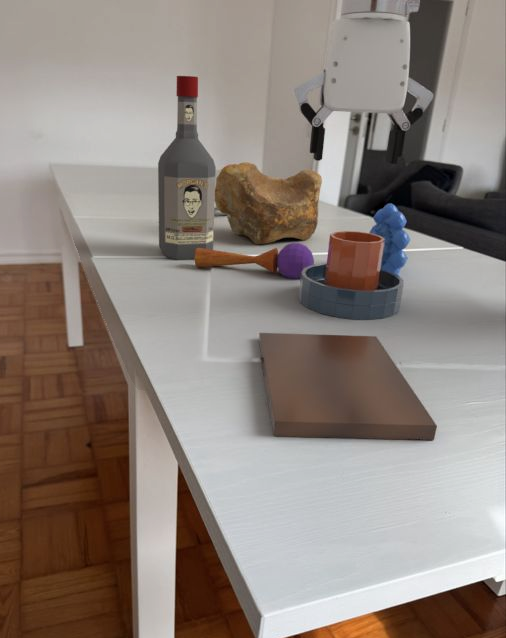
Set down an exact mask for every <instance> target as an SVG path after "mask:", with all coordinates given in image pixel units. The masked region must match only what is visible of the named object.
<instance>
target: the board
mask: <svg viewBox="0 0 506 638" xmlns="http://www.w3.org/2000/svg"><path fill="white" fill-rule="evenodd" d="M258 344H259V349H260V355H261V357H260V361H261V367H262V374H263V379H264V385H265V386H264V387H265V392H266V396H267V403H268V409H269V410H268V411H269V416H270V422H271V428H272V434H273V437H294V438H295V437H296V438H332V439H333V438H335V439H369V440H371V439H373V440H375V439H376V440H408V439H417V440H416V441H434V440H435V436H436V432H437V429H438V425H437V423H436V422H435V421H434V419H433V417H432V416H431V415H430V413H429V412H428V410H427V408H426V407H425V406H424V404H423V403H422V401H421V400H420V399H419V397H418V396H417V394H416V392H415V391H414V390H413V389H412V387H411V385H410V384H409V382H408V381H407V380H406V377H404V375H403V373H402V372H401V371H400V369H399V368H398V366H397V364H396V363H395V362H394V360H393V359H392V357H391V356H390V354H389V353H388V351H387V350H386V349H385V347H384V345H383V343H382V342H381V341H380V340H379V338H378V337H377V336H375V335H374V336H373V335H341V334H317V333H315V334H313V333H312V334H311V333H283V332H280V333H279V332H259V333H258ZM418 439H420V440H418ZM421 439H423V440H421ZM428 439H429V440H428ZM431 439H432V440H431Z"/></svg>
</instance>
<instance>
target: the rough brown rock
mask: <svg viewBox="0 0 506 638" xmlns="http://www.w3.org/2000/svg"><path fill="white" fill-rule="evenodd" d="M322 178H323V177H322V175H320V174H319V172H317V171H314V170H309V169H306V170H305V169H304V170H303V169H302V170H300V171H299V172H298V173H296V174H294V175H291V176H289V177H287V178H285V179H283V178H281V177H272V176H268V175H266V174H264V173H263V172H261V170H259V168H258V166H257V165H255V164H254V163H251V162H240V163H238V164H236V163H233V164H227V165H224V167H222V168H221V170H220V172H219V174H218V175H217V176H216V178H215V203H216V207H217V209H218V210H219V211H220V212H222V213H224V214H226V215H225V216H226V218H227V221H228V224H229V227H230V230H231V232H232V233H234V234H235V235H237V236H245V237H247V238H249V239H250V240H251V241H252V242H253V243H254V244H255V245H263V244H269V243H273V242H276V241H279V240H281V239H286V238H294V239H299V240H301V241H306V240H309V239H310V238H311V237H312V236H313V235H314V234H315V232H316V229H317V227H318V220H319V219H318V218H319V201H320V194H321V188H322V183H323V179H322Z"/></svg>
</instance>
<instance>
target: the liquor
mask: <svg viewBox="0 0 506 638" xmlns="http://www.w3.org/2000/svg"><path fill="white" fill-rule="evenodd" d="M176 97H177V112H176V113H177V114H176V115H177V117H176V118H177V119H176V120H177V123H176V124H177V125H176V132H175V138H174V139H173V140H172V141H171V143H170V144H169V145H168V146H167V148H166V149H165V150H164V151H163V152H162V154H161V155H160V157H159V159H158V162H157V176H158V177H157V178H158V179H157V181H158V182H157V183H158V184H157V185H158V192H157V193H158V194H157V195H158V246H159V250H160V251H161V253H162V255H164V256H165V258H166V259H172V260H177V261H184V260H185V261H187V260H195V251H196V249H197V248H203V249H209V250H214V239H215V238H214V234H215V233H214V232H215V216H214V204H215V187H216V168H217V167H216V164H215V161H214V159H213V157H212V155H211V154H210V153H209V152H208V150H207V149H206V148H205V146H204V145H203V143H202V142H201V141H200V140H199V133H198V97H199V77H198V76H191V75H176Z"/></svg>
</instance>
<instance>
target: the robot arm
mask: <svg viewBox="0 0 506 638" xmlns="http://www.w3.org/2000/svg"><path fill="white" fill-rule="evenodd" d="M420 4H421V0H341V6H340V18H339V19H336V20H334V21H333V22H332V24H331V28H330V31H329V35H328V41H327V45H326V50H325V55H324V63H323V68H322V73H321V74H318V75H316V76H314V77H312V78H311V79H308V80H307V81H305V82H303V83H301V84H299V85H297V86H295V87H294V88H293V90H292V93H293V96H294V98H295V101H296V104H297V106H298V109H299V112H300V113H301V114H302V116H303V117H304V118H305V119H306V120H307V122H308V123H309V124H310V126H311V130H310V131H311V132H310V143H309V153H310V154H313V160H315V161H317V162H318V161H319V162H320V161H322V160H323V155H324V154H323V153H324V146H325V145H324V144H325V136H326V135H325V134H326V128H325V127H324V123H325V121H326V120H327V118H328V117H330V115H331V114H332V113H333V112H344V113H347V112H348V113H365V114H366V113H368V114H369V113H370V114H386V115H387V116H388V118H389V120H390V121H391V123H392V124H393V129H391V130H390V131H389V134H388V141H387V148H386V154H385V155H386V156H385V161H386V162H387V163H388V164H391V165H397V163H398V161H399V158H402V156H403V151H404V145H405V139H406V132H407V131H409V129H410V128H411V126H412V125H414V124H415V123H416V122H417V121H419V119H420V118H422V116H423V114H424V112H425V111H426V110H427V108H428V107H429V105H430V103H431V102H432V100H433V99H434V93H433V92H431V90H429V89H427V88H426V87H424V86H423V85H421V84H420V83H419V82H417V81H416V80H414V79H413V78H412V77H409V76H410V75H409V74H410V61H411V60H410V59H411V25H410V22H409V21H407V20H406V17H408V14H412V13H418V11H419V9H420ZM317 88H320V90H319V104H320V106H319V108H318V109H317V110H316V111H315V109H313V107H312V106H311V105H310V103H309V100H308V94H309V93H310V92H312V91H314V90H316V89H317ZM407 92H408V93H409V94H410V95H412V96H414V97H415V98H416V102H415V104H414V105H413V107H412V108H411V109H410V110H409V111H408V112H407V113H405V112H404V111H403V108H404V106H405V102H406V99H407Z"/></svg>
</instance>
